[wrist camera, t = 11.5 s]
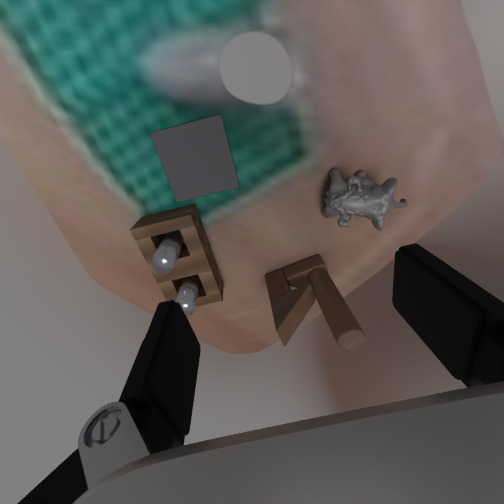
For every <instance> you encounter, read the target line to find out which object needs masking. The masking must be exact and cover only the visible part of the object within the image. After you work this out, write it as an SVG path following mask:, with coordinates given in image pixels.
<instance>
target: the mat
mask: <svg viewBox="0 0 504 504" xmlns="http://www.w3.org/2000/svg"><path fill="white" fill-rule="evenodd" d="M150 135H151V137H152V140H153V142H154V145H155V147H156V150H157V152H158V155H159V157H160V160H161V163H162V165H163V168H164V170H165V173H166V175H167V178H168V180H169V183H170V185H171V188H172V190H173V193H174V195H175V198H176V201H177V202H181V201H185V200H189V199H193V198H197V197H201V196H205V195H209V194H213V193H217V192H221V191H225V190H229V189H233V188H237V187H239V182H238V179H237V175H236V171H235V167H234V163H233V159H232V155H231V151H230V148H229V144H228V140H227V136H226V132H225V128H224V124H223V120H222V116H221V114H220V115H216V116H212V117H209V118H205V119H201V120H197V121H194V122H190V123H186V124H183V125H179V126H175V127H171V128H168V129H164V130H160V131H157V132H153V133H150Z"/></svg>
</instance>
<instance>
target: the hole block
mask: <svg viewBox="0 0 504 504" xmlns="http://www.w3.org/2000/svg"><path fill="white" fill-rule="evenodd" d="M176 230H180V231H181V234H182V236H183V239H184V241H185V244H183V246H182V248H181V251H180V253H179V256H178V259H177V261H176V264H175V266H174V269H173V270H172V271H171V272H169V273H160V272H157V271H156V270H154V269H153V267H152V265H151V260H152V258H153V256H154V254H155V252H156V251H157V249H158V247H159V245H160V244H161V242H162V240H163V238H164V237H165V236H164V233H168V232H172V231H176ZM130 231H131V233H132V235H133V237H134V239H135V241H136V242H137V244H138V246H139V248H140V250H141V252H142V254H143V256H144V258H145V260H146V262H147V264H148V265H149V267H150V269H151V271H152V273H153V275H154V277H155V279H156V281H157V283H158V285H159V287H160V289H161V290H162V292H163V294H164V296H165V298H166V300H167V301H169V300H174V301H175V302H176V299H177V296H178V292H179V289H180V286H181V283H182V279H183V278H184V277H188V276H192V275H197V274H198V275H199V278H200V280H201V281H200V285H199V290H198V296H197V301H196V306H201V305H205V304H210V303H214V302H218V301H223V287H224V283H223V280H222V277H221V274H220V272H219V269H218V266H217V263H216V261H215V258H214V255H213V252H212V249H211V247H210V244H209V241H208V238H207V235H206V233H205V230H204V227H203V224H202V221H201V219H200V216H199V213H198V210H197V208H196V205H195V204H193V205H189V206H185V207H181V208H177V209H173V210H169V211H165V212H161V213H157V214H153V215H149V216H145V217H141V218H140V219H139V221H138V222H137V223H136V224H135V225H134V226H133V227H132V228H131V229H130ZM196 306H195V307H196Z"/></svg>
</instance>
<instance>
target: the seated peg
mask: <svg viewBox="0 0 504 504" xmlns="http://www.w3.org/2000/svg"><path fill="white" fill-rule="evenodd" d="M199 285H200V278H199V275H198V274H197V275H192V276H188V277H184V278H183V279H182V283H181V286H180V289H179V292H178V296H177V299H176V302H179V303H180V305H181V307H182V309H183V311H184V313H185V315H186V316H190V315H192V314H193V313H194V311H195V306H196V301H197V296H198V290H199Z"/></svg>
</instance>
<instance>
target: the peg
mask: <svg viewBox="0 0 504 504" xmlns="http://www.w3.org/2000/svg"><path fill="white" fill-rule="evenodd" d="M183 243H184V239H183V236H182V234H181V231H180V230H176V231H172V232H168V233H166V235H165V237H164V238H163V240H162V242H161V244H160V245H159V247H158V249H157V251H156V252H155V254H154V256H153V258H152V260H151V265H152V267H153V269H154V270H156V271H157V272H160V273H169V272H171V271H172V270H173V269H174V266H175V264H176V261H177V259H178V256H179V253H180V251H181V248H182V246H183Z"/></svg>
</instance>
